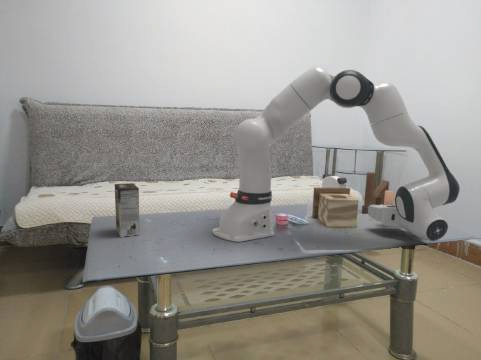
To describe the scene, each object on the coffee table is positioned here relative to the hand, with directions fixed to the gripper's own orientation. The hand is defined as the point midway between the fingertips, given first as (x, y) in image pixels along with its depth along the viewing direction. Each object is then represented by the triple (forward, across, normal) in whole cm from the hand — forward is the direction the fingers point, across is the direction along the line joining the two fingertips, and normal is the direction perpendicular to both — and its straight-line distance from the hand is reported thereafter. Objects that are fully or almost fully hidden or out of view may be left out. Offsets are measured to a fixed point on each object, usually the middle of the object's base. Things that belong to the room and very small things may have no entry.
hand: (387, 206), depth 136 cm
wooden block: (+20, -6, +8) cm, 23 cm away
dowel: (-1, 0, +8) cm, 8 cm away
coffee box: (-4, +94, +8) cm, 94 cm away
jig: (0, +18, +8) cm, 20 cm away
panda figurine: (+28, +10, +8) cm, 31 cm away
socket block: (+3, +18, +7) cm, 20 cm away
